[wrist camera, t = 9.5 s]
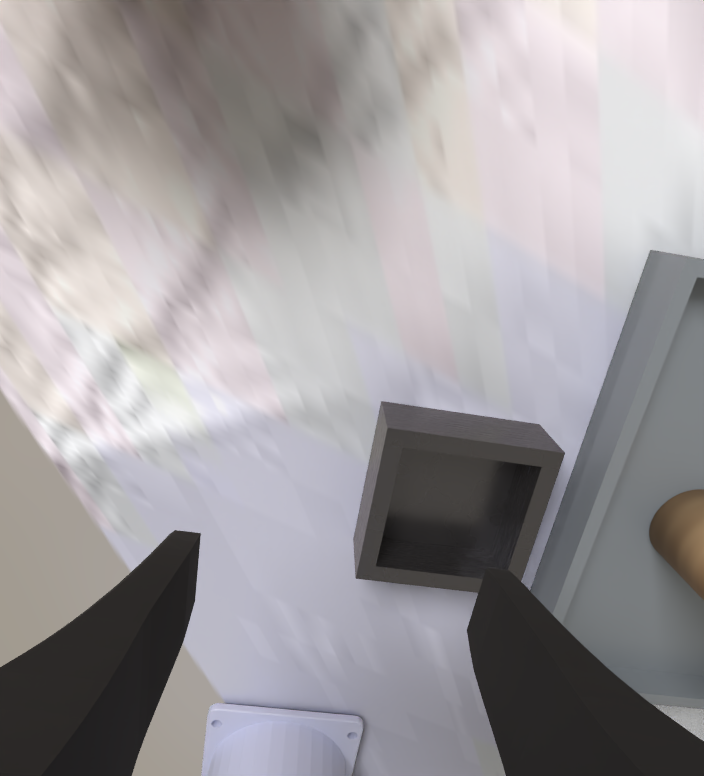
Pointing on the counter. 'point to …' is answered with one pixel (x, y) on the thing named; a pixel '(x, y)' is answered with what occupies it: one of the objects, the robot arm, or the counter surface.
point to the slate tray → (638, 496)
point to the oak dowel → (682, 536)
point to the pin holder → (451, 497)
